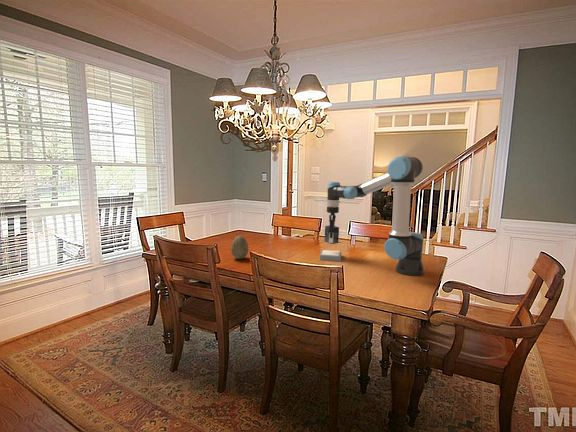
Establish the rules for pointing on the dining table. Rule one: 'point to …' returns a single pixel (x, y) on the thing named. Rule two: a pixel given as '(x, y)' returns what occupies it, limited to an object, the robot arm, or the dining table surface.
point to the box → (335, 235)
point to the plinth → (330, 255)
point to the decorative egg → (239, 247)
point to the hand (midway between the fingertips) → (331, 240)
